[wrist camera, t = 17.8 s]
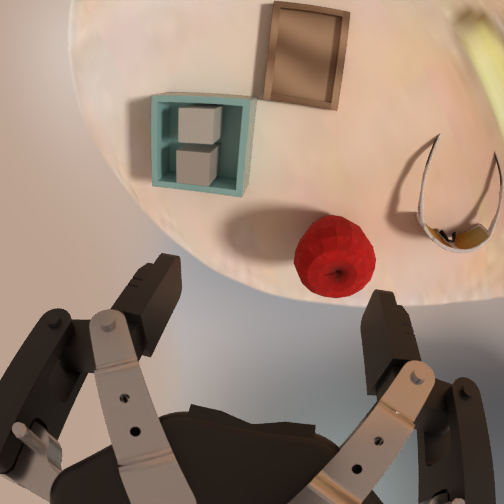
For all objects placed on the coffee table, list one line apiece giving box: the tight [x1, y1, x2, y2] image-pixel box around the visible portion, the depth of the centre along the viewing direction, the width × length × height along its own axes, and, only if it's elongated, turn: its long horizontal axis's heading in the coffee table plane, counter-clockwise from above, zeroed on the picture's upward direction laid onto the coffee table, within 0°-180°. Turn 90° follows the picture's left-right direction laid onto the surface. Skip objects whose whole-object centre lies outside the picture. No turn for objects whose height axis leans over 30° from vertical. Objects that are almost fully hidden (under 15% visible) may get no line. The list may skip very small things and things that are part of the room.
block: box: [176, 143, 221, 186], centre depth 36 cm, size 4×4×5 cm
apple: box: [294, 215, 376, 298], centre depth 37 cm, size 10×10×11 cm
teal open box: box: [151, 92, 257, 197], centre depth 35 cm, size 12×12×4 cm
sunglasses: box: [416, 134, 504, 253], centre depth 34 cm, size 14×15×5 cm
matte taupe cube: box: [178, 103, 225, 144], centre depth 33 cm, size 4×4×5 cm
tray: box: [263, 1, 350, 111], centre depth 29 cm, size 13×9×1 cm
